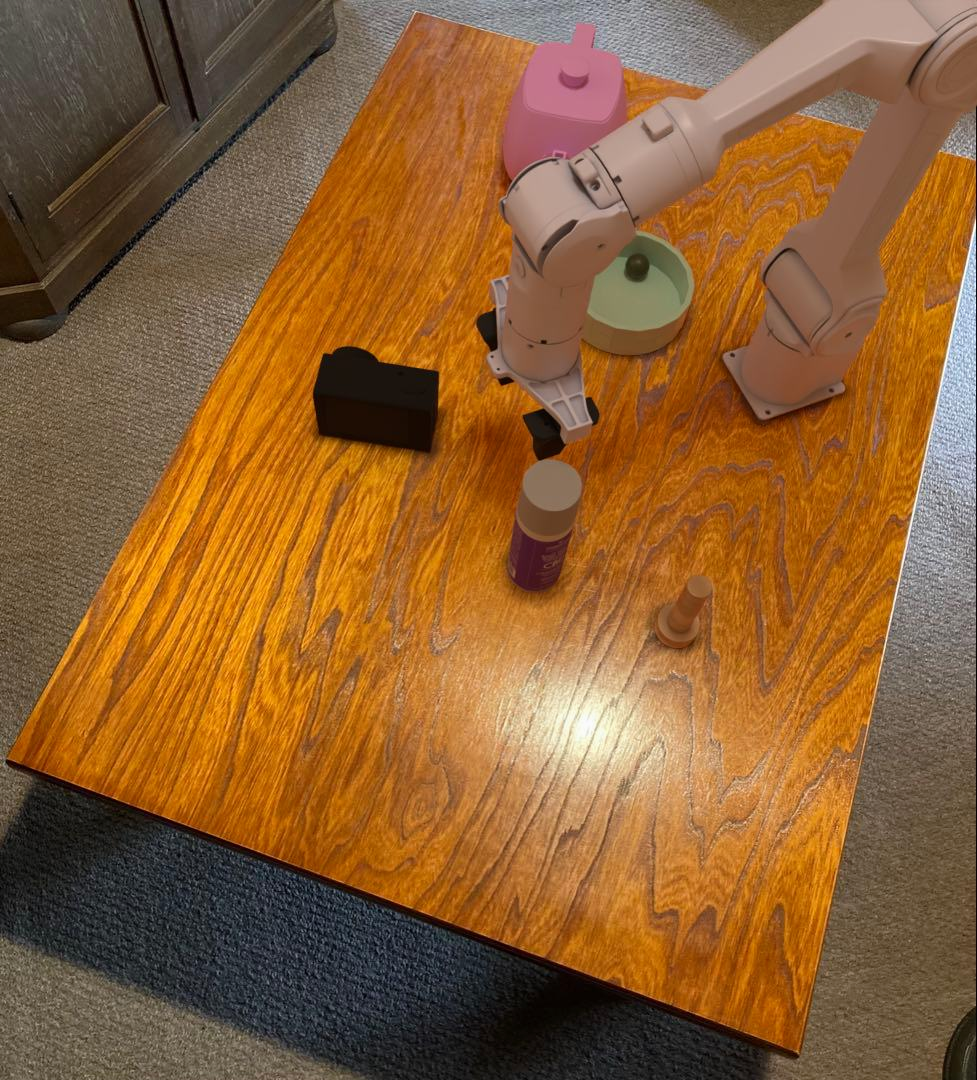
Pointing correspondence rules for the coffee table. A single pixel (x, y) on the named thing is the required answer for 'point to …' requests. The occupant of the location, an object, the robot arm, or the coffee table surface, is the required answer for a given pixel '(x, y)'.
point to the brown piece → (683, 614)
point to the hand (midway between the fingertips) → (528, 416)
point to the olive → (637, 265)
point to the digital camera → (375, 400)
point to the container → (543, 525)
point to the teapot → (564, 102)
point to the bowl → (640, 300)
